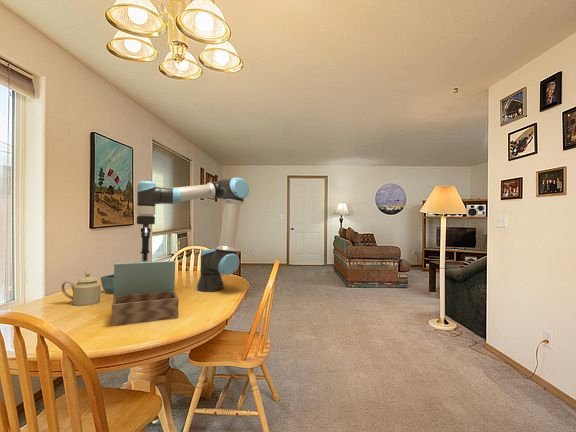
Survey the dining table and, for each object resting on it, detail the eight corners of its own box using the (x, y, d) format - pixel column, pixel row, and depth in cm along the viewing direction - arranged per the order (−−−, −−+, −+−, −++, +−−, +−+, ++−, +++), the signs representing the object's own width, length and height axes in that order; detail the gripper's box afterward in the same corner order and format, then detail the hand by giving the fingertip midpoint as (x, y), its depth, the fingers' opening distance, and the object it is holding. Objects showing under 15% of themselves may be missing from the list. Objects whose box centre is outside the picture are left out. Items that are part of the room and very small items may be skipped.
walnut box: (173, 308, 140) (174, 291, 140) (178, 317, 127) (178, 298, 127) (113, 315, 129) (113, 296, 129) (111, 326, 116) (111, 305, 116)
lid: (174, 291, 140) (173, 290, 141) (175, 261, 138) (175, 260, 139) (113, 296, 129) (113, 295, 130) (114, 264, 127) (114, 263, 128)
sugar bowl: (65, 309, 136) (66, 275, 137) (60, 303, 144) (61, 271, 144) (103, 302, 147) (103, 271, 147) (96, 298, 155) (97, 268, 155)
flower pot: (99, 293, 164) (100, 276, 164) (113, 289, 173) (113, 273, 173) (112, 295, 162) (113, 277, 162) (126, 291, 170) (126, 275, 170)
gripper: (136, 215, 144) (135, 265, 144) (136, 215, 132) (135, 270, 132) (154, 215, 147) (152, 265, 147) (155, 215, 136) (154, 269, 135)
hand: (144, 267), depth 139 cm, fingers closed
